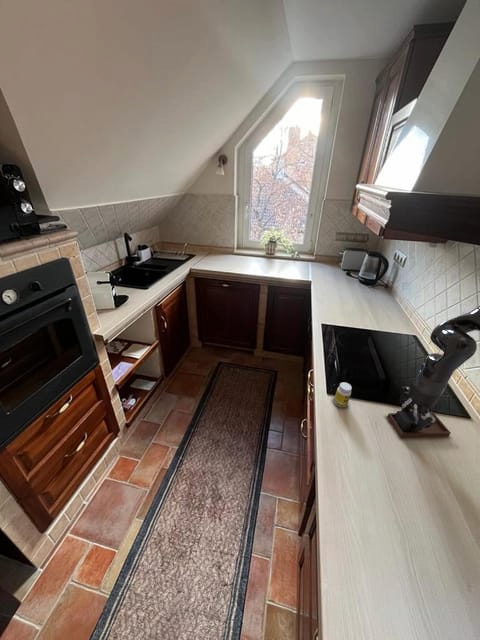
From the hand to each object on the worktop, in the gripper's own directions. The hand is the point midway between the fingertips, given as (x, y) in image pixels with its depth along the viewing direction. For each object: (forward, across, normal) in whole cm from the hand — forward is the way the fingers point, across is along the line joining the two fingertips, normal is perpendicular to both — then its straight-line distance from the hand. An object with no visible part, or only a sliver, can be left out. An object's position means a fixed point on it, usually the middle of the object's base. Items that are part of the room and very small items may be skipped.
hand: (407, 422), depth 85 cm
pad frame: (+2, 0, -4) cm, 4 cm away
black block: (0, 0, 0) cm, 0 cm away
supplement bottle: (+2, +11, +18) cm, 21 cm away
